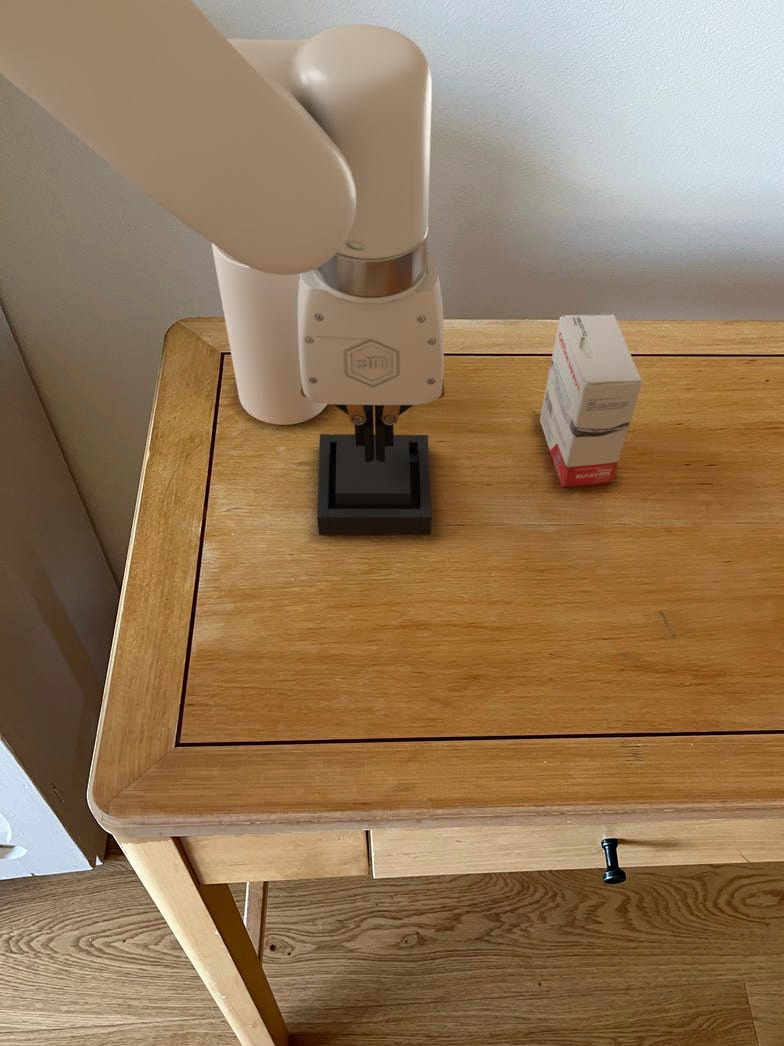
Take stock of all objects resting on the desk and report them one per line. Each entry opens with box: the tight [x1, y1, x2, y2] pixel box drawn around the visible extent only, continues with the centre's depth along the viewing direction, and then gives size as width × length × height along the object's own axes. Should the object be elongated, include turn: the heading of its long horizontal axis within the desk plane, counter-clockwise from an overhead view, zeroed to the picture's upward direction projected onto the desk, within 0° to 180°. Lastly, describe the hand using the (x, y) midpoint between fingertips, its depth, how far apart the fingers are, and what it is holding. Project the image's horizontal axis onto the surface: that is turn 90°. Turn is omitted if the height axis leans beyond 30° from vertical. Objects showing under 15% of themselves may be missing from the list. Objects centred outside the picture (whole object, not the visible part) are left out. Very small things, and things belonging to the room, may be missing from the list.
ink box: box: [539, 313, 643, 488], centre depth 81 cm, size 8×5×12 cm, turn 12°
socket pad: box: [316, 433, 433, 536], centre depth 81 cm, size 9×9×2 cm
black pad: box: [336, 439, 411, 509], centre depth 80 cm, size 6×6×3 cm
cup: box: [211, 243, 328, 426], centre depth 81 cm, size 8×8×16 cm
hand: (375, 448), depth 77 cm, fingers closed
